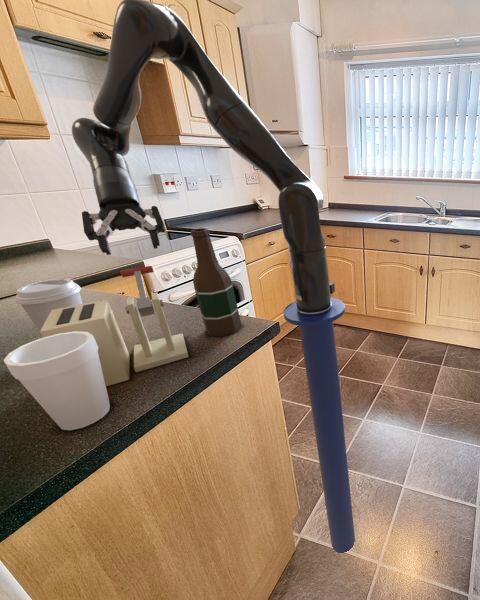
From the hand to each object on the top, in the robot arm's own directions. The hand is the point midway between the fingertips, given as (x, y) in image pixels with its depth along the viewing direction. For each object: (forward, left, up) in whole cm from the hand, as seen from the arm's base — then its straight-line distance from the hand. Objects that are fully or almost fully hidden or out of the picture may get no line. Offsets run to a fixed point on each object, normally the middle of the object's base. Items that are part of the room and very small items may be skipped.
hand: (132, 249), depth 75 cm
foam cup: (+28, +14, -19) cm, 37 cm away
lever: (+7, +7, -7) cm, 12 cm away
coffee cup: (+12, -9, -19) cm, 25 cm away
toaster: (+19, +6, -19) cm, 28 cm away
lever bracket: (+10, +11, -19) cm, 25 cm away
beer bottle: (-2, +17, -19) cm, 26 cm away
